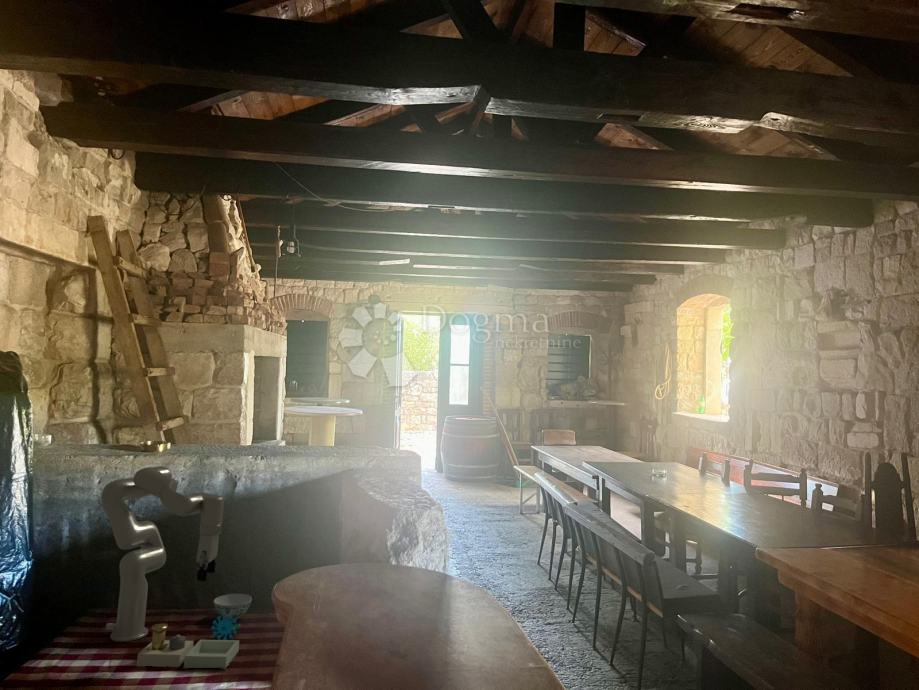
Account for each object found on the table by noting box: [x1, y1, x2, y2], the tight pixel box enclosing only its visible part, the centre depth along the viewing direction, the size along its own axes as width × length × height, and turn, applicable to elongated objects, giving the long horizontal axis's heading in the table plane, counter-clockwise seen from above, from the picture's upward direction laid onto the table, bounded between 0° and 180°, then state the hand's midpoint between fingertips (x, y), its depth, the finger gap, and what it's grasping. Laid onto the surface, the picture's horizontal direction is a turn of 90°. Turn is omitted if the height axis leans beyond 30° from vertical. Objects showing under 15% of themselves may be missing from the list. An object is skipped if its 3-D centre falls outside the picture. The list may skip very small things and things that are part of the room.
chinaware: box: [213, 593, 253, 621], centre depth 243 cm, size 15×15×8 cm
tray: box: [183, 639, 240, 670], centre depth 204 cm, size 14×14×4 cm
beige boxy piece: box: [136, 634, 194, 668], centre depth 203 cm, size 14×12×8 cm
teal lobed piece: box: [210, 615, 242, 640], centre depth 224 cm, size 11×6×10 cm
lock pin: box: [150, 622, 169, 650], centre depth 203 cm, size 5×5×11 cm
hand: (205, 576), depth 215 cm, fingers open, 9 cm apart
